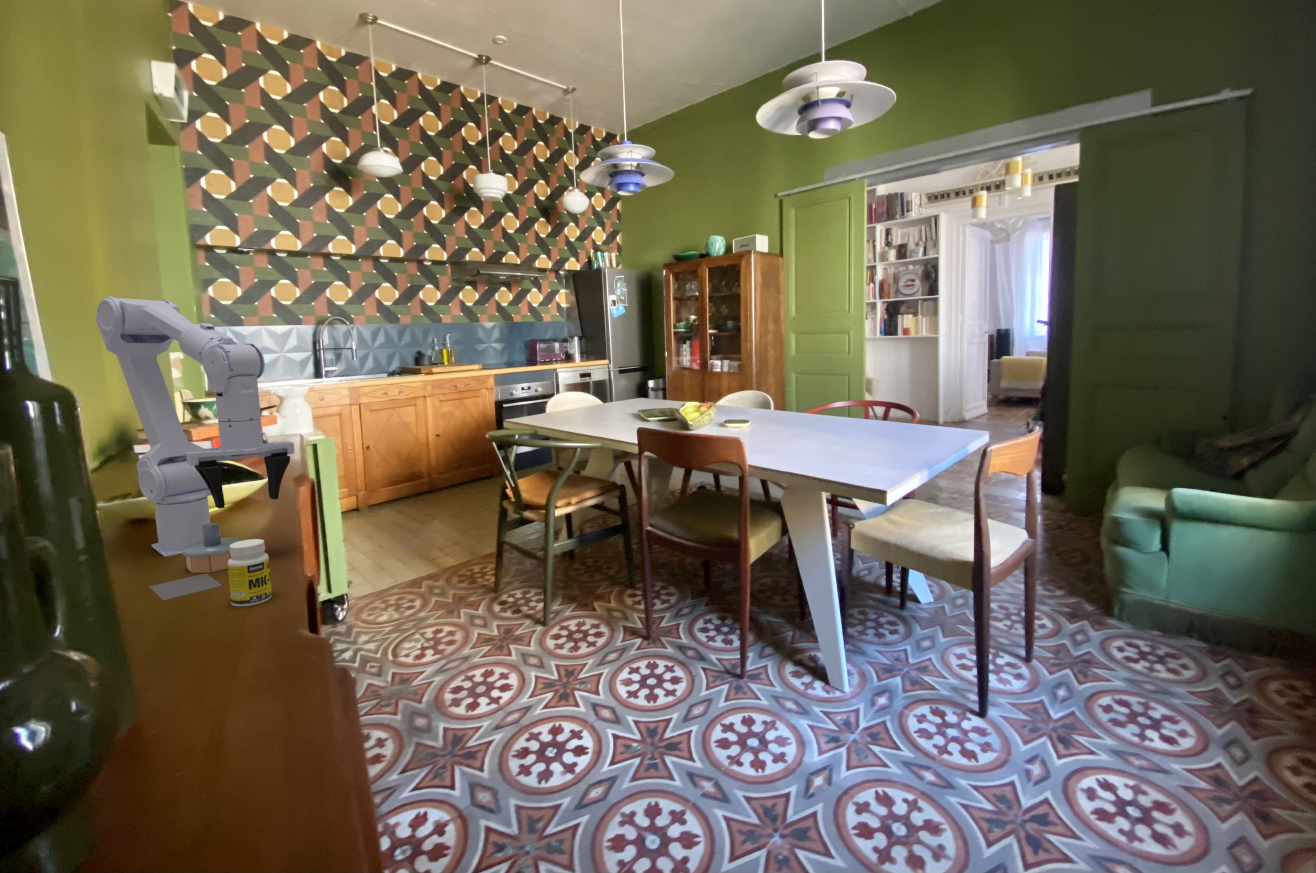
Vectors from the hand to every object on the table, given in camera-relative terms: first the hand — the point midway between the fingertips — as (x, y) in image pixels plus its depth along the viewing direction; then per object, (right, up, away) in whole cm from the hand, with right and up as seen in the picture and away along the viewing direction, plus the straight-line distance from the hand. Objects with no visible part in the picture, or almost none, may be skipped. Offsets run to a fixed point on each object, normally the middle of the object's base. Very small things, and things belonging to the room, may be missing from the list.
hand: (247, 502), depth 101 cm
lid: (-4, -7, -2) cm, 9 cm away
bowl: (-4, -10, -2) cm, 11 cm away
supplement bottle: (+11, -12, -15) cm, 22 cm away
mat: (-2, -11, -10) cm, 16 cm away
